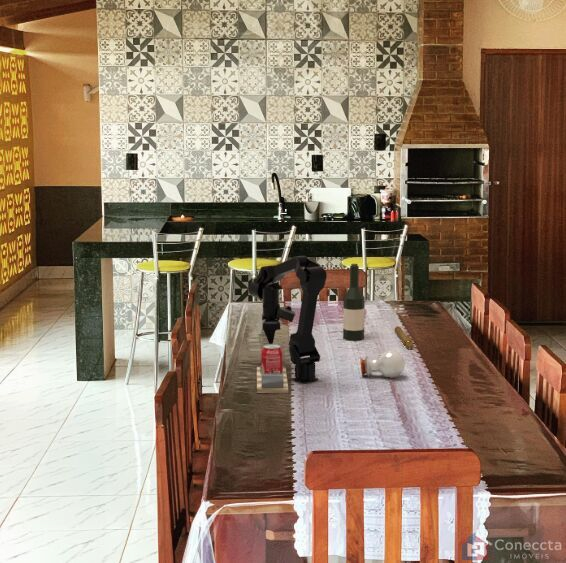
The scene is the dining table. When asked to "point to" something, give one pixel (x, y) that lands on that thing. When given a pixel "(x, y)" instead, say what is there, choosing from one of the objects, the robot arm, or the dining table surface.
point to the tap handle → (404, 337)
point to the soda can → (271, 359)
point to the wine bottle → (353, 308)
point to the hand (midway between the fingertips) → (271, 344)
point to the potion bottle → (384, 364)
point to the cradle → (272, 382)
